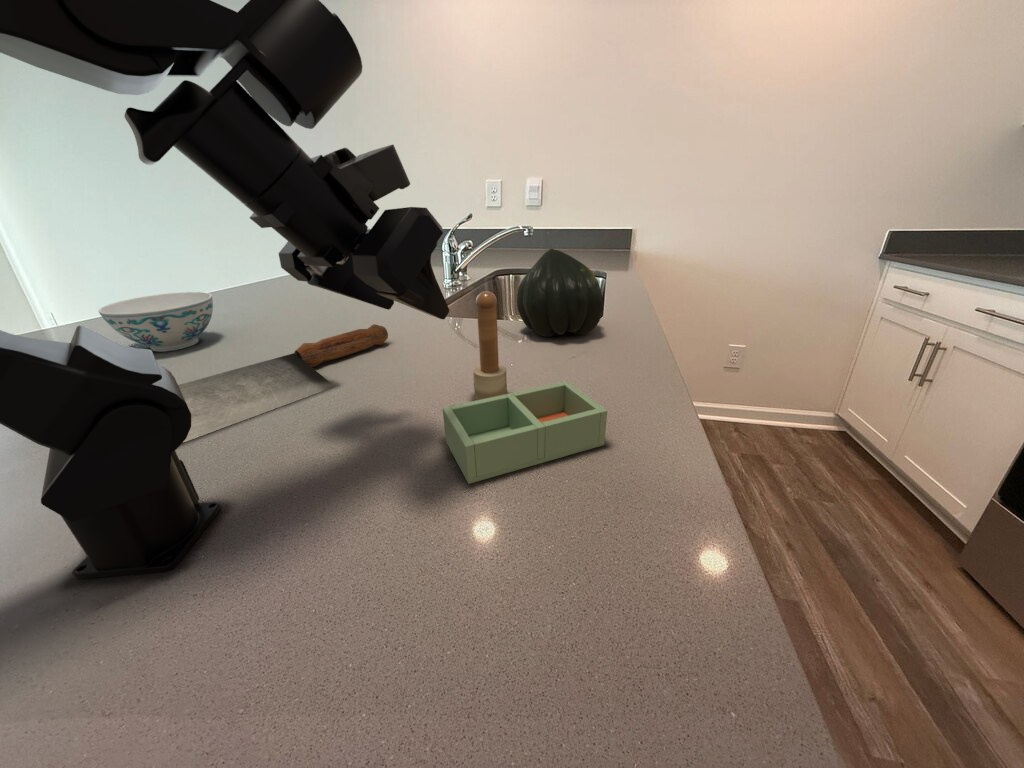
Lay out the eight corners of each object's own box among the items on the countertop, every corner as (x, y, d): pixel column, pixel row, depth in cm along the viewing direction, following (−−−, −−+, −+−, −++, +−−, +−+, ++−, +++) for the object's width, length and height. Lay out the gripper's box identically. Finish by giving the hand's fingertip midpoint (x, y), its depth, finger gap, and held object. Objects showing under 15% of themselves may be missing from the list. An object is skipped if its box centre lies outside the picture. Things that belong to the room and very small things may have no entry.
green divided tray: (468, 484, 36) (465, 446, 34) (445, 441, 42) (442, 407, 40) (604, 445, 41) (607, 410, 39) (566, 411, 47) (567, 380, 46)
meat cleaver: (165, 450, 42) (149, 416, 40) (136, 417, 48) (122, 386, 46) (420, 356, 66) (417, 332, 64) (378, 342, 72) (375, 320, 70)
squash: (607, 317, 62) (604, 234, 67) (510, 320, 64) (513, 239, 68) (600, 351, 76) (597, 279, 80) (520, 352, 78) (522, 282, 82)
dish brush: (508, 405, 49) (505, 294, 43) (475, 407, 49) (467, 296, 43) (505, 390, 53) (502, 286, 47) (474, 392, 52) (467, 288, 47)
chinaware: (148, 366, 63) (126, 318, 59) (101, 352, 69) (80, 308, 65) (243, 337, 75) (230, 296, 71) (196, 328, 81) (182, 289, 78)
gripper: (406, 63, 25) (525, 248, 36) (289, 123, 37) (406, 248, 48) (297, 196, 22) (463, 351, 33) (209, 214, 34) (353, 324, 45)
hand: (416, 310), depth 40 cm, fingers open, 9 cm apart
